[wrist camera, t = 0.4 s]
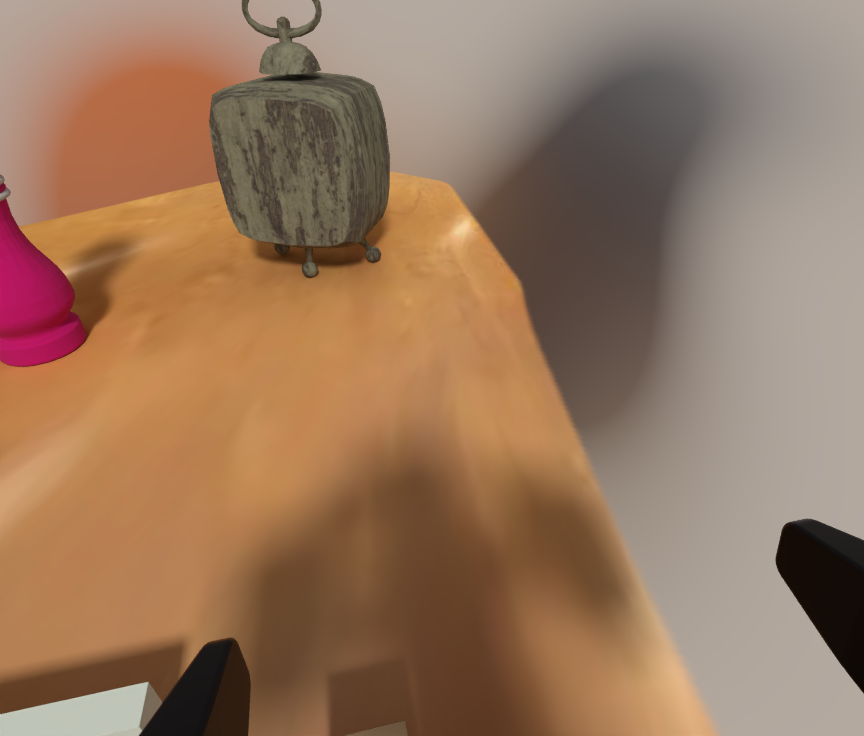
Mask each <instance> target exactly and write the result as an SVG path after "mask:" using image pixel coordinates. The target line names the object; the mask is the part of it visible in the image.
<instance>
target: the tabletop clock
mask: <svg viewBox="0 0 864 736" xmlns="http://www.w3.org/2000/svg"><path fill="white" fill-rule="evenodd" d="M312 1H313V3H314V5H315V8H316V14H315V18H314V19H313V20H312V21H311V22H309V23H308V24H307V25H304V26H301V27H299V28H290V22H289V20H288V19H287V18H285V17H280V18H278V19H277V27H278V28H269V27H266V26H263V25H260V24H259V23H257V22H256V21H254V20H253V19H251V17H250V15H249V13H248V2H249V0H242V11H243V14H244V17H245V18H246V20H247V22H248V23H249V24H250V25H251V26H252V27H253V28H254V29H255V30H256V31H257V32H260V33H262V34H264V35H267V36H269V37H274V38H279V40H280V43H276V44H273V45H271V46H269V47H267V49H266V51H265V52H264V53H263V56H262V59H261V62H260V71H259V72H260V73H262V74H272V75H271V76H267V77H263V78H259V79H256V80H252V81H249V82H245V83H241V84H237V85H233V86H230V87H227V88H224V89H222V90H220V91H218V92H217V93H215V94H213V95H212V102H211V109H210V120H209V123H210V136H211V141H212V146H213V152H214V157H215V162H216V167H217V173H218V176H219V180H220V184H221V187H222V191H223V194H224V197H225V201H226V204H227V208H228V211H229V213H230V216H231V218H232V220H233V223H234V224H235V226H236V228H237V230H238V231H239V233H240V234H242V235H244V236H246V237H248V238H251V239H254V240H258V241H263V242H268V243H273V244H275V246H274V247H275V250H276V251H277V252H278V253H280V254H286V253H287V252H288V251H289V248H290V247H289V246H293V247H299V248H305V251H306V258H307V262H305V263H304V264H303V266H302V272H303V274H304V275H305V276H307V277H314V276H315V275H316V274H317V272H318V268H317V266H316V264H315V263H314V262H312V254H313V248H343V247H348V246H351V245H354V244H357V243H360V244H361V245H362V246H363V247H364V248H365V249H366V250H367V252H366V256H367V258H368V260H369V261H372V262H376V261H378V260H379V259H380V256H381V252H380V250H379V249H378V248H377V247H370V246H369V244H368V243H367V241H366V240H365V238H364V237H365V236H366V235H367V234H368V233H369V232H370V230H371V229H372V228H373V227H374V226H375V225H376V224H377V223H378V221H379V220H380V219H381V218H382V217H383V215H384V212H385V209H386V206H387V203H388V196H389V181H390V154H389V146H388V138H387V130H386V122H385V117H384V113H383V109H382V105H381V101H380V99H379V96H378V94H377V92H376V89H375V87H374V85H372V84H370V83H368V82H366V81H364V80H362V79H359V78H356V77H353V76H347V75H338V74H329V73H318V72H317V71H320V70H321V69H320V66H319V64H318V61H317V59H316V58H315V56H314V55H313V53H312V52H311V51H310V50H309V49H308V48H307V47H306V46H304V45H302V44H299V43H294V42H292V38H295V37H301V36H303V35H305V34H307V33H309V32H311V31H313V30H314V29H315V27H316V26H317V25H318V23H319V21H320V18H321V5H320V1H319V0H312Z"/></svg>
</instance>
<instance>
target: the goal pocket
mask: <svg viewBox="0 0 864 736" xmlns="http://www.w3.org/2000/svg"><path fill="white" fill-rule="evenodd" d="M162 703H163V702H162V701H161V699H160V698H159V696H158V695H157V694H156V692H155V691H154V689H153V688H152V686H151V685H150V683H149V682H145V683H140V684H136V685H131V686H127V687H122V688H118V689H113V690H109V691H104V692H99V693H95V694H90V695H86V696H81V697H77V698H72V699H68V700H63V701H59V702H54V703H49V704H45V705H40V706H36V707H31V708H27V709H22V710H18V711H13V712H9V713H4V714H0V736H139V734H140V733H141V732H142V730H143V729H144V727H145V726H146V725H147V723H148V722H149V721H150V719H151V718H152V716H153V715H154V714H155V712H156V711H157V709H158V708H159V707H160V705H161V704H162Z"/></svg>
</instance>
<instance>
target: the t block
mask: <svg viewBox="0 0 864 736" xmlns="http://www.w3.org/2000/svg"><path fill="white" fill-rule="evenodd" d="M344 736H408V734H407V728H406V722H405V721H401V722H397V723H393V724H389V725H385V726H381V727H377V728H372V729H368V730H364V731H360V732H356V733H352V734H348V735H344Z"/></svg>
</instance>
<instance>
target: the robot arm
mask: <svg viewBox="0 0 864 736" xmlns="http://www.w3.org/2000/svg"><path fill="white" fill-rule="evenodd" d="M776 565H777V568H778V571H779V573H780V575H781V576H782V578H783V579H784V581H785V582H786V584H787V585H788V587H789V588H790V590H791V591H792V593H793V594H794V596H795V597H796V599H797V600H798V602H799V603H800V605H801V606H802V608H803V609H804V611H805V612H806V614H807V615H808V617H809V618H810V620H811V621H812V623H813V624H814V626H815V627H816V629H817V630H818V632H819V633H820V635H821V636H822V638H823V639H824V641H825V642H826V644H827V645H828V647H829V648H830V649H831V651H832V652H833V654H834V655H835V657H836V658H837V660H838V661H839V662H840V664H841V665H842V666H843V668H844V669H845V670H846V672H847V673H848V674H849V676H850V677H851V678H852V679H853V681H854V682H855V683H856V684H857V686H858V687H859V688H860V689H861V691H862V692H863V693H864V540H862V539H859V538H857V537H855V536H852V535H850V534H848V533H845V532H843V531H840V530H838V529H835V528H833V527H831V526H828V525H826V524H824V523H821V522H819V521H816V520H813V519H802V520H798V521H793V522H789V523H786V524H785V525H784V527H783V529H782V532H781V536H780V541H779V545H778V550H777V554H776ZM250 690H251V684H250V675H249V671H248V668H247V666H246V663H245V660H244V658H243V655H242V653H241V650H240V647H239V645H238V643H237V641H236V640H235V639H234V638H226V639H221V640H216V641H211V642H208V643H207V644H205V645H204V646H203V647H202V649H201V650H200V651H199V653H198V654H197V655H196V657H195V658H194V660H193V661H192V662H191V664H190V665H189V666H188V668H187V669H186V671H185V672H184V673H183V675H182V676H181V678H180V679H179V680H178V682H177V683H176V685H175V686H174V687H173V689H172V690H171V691H170V693H169V694H168V696H167V697H166V698H165V700H164V701H163V703H162V704H161V705H160V707H159V708H158V709H157V711H156V712H155V714H154V715H153V716H152V718H151V719H150V721H149V722H148V723H147V725H146V726H145V727H144V729H143V730H142V732H141V733H140V734H139V736H248V727H249V709H250Z"/></svg>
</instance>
